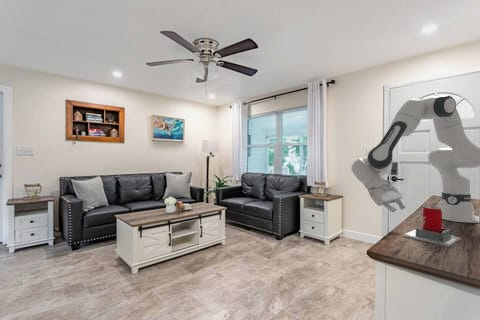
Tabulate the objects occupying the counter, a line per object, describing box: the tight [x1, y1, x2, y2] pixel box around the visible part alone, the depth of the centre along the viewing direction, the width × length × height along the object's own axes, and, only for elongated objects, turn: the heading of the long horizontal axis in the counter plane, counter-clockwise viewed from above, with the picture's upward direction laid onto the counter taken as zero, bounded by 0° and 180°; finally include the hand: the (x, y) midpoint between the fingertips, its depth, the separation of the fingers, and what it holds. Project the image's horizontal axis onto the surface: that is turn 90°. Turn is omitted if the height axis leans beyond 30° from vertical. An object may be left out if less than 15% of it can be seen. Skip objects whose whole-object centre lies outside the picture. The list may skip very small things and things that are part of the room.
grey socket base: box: [403, 227, 461, 248], centre depth 102 cm, size 14×15×4 cm
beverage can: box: [422, 205, 443, 233], centre depth 102 cm, size 6×6×12 cm
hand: (399, 210), depth 112 cm, fingers open, 8 cm apart
